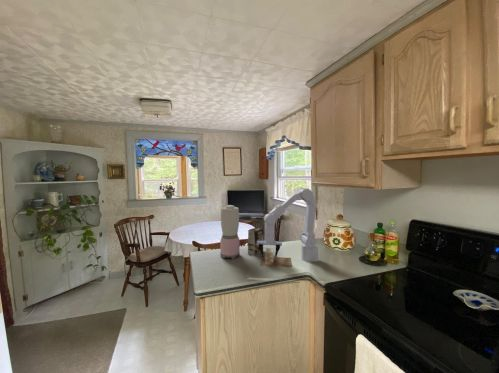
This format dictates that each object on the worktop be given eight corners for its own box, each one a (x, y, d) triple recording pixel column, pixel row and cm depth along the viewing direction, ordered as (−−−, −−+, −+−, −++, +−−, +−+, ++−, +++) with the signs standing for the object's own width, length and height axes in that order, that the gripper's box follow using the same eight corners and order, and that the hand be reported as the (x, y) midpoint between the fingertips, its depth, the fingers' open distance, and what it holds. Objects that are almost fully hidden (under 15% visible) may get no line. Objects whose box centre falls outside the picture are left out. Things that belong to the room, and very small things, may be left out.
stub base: (290, 259, 135) (290, 253, 134) (292, 268, 122) (292, 261, 121) (261, 258, 136) (261, 251, 136) (260, 267, 124) (260, 260, 123)
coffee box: (255, 256, 139) (255, 231, 138) (247, 254, 143) (247, 229, 141) (263, 252, 146) (263, 228, 145) (255, 250, 150) (255, 226, 149)
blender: (237, 260, 133) (237, 207, 131) (218, 259, 135) (217, 207, 132) (241, 250, 149) (241, 203, 146) (223, 249, 150) (223, 203, 148)
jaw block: (273, 258, 134) (273, 248, 133) (273, 264, 125) (273, 254, 124) (265, 257, 134) (265, 248, 134) (265, 264, 125) (265, 253, 125)
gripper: (256, 236, 125) (256, 259, 126) (282, 237, 124) (281, 260, 125) (257, 232, 132) (257, 254, 133) (281, 233, 130) (281, 255, 132)
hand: (269, 257), depth 129 cm, fingers open, 7 cm apart
